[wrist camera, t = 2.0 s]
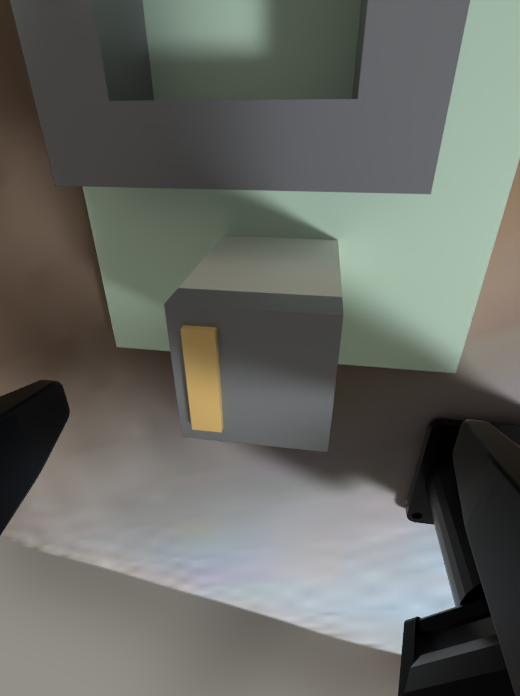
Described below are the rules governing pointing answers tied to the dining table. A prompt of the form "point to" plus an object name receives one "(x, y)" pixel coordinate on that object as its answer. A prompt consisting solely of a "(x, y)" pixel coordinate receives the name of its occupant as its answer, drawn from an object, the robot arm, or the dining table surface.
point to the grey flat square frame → (240, 106)
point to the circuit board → (323, 207)
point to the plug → (258, 342)
